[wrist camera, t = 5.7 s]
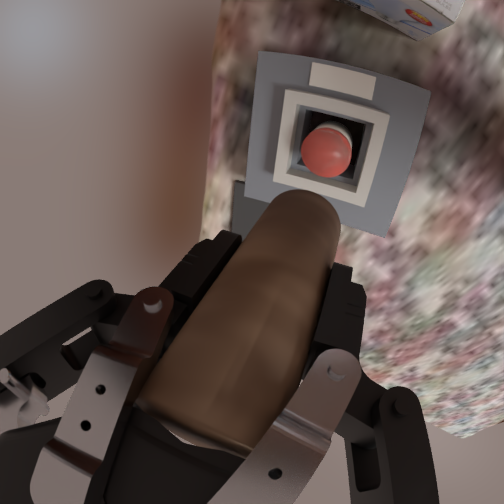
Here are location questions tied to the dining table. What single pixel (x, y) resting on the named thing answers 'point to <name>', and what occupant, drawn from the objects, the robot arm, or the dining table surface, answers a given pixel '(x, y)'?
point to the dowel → (249, 331)
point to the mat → (245, 211)
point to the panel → (341, 105)
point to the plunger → (327, 149)
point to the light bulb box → (412, 14)
